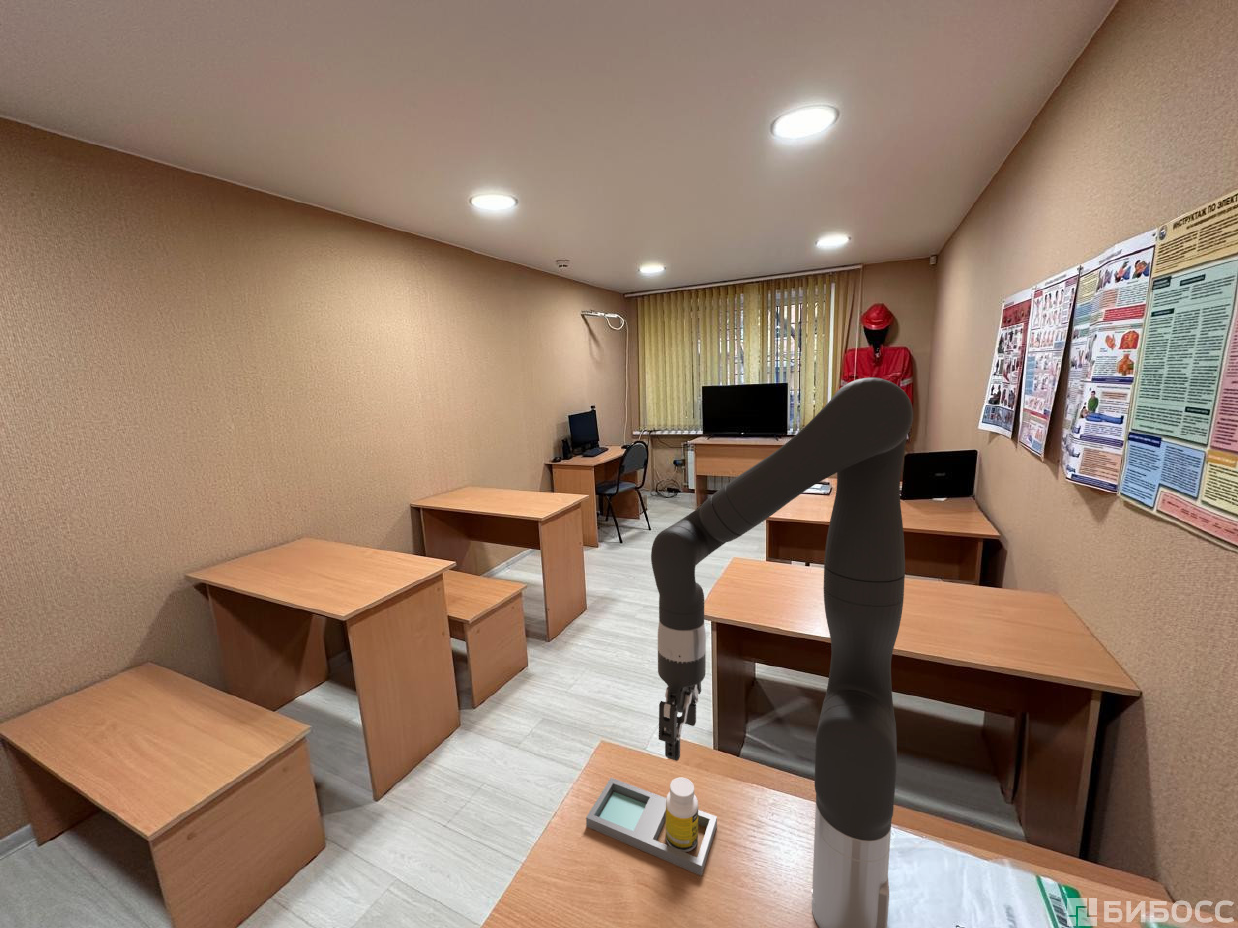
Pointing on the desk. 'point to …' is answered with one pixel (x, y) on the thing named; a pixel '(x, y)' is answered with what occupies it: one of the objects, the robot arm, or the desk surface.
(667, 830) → the supplement bottle
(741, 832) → the desk surface
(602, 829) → the frame
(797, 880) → the desk surface
